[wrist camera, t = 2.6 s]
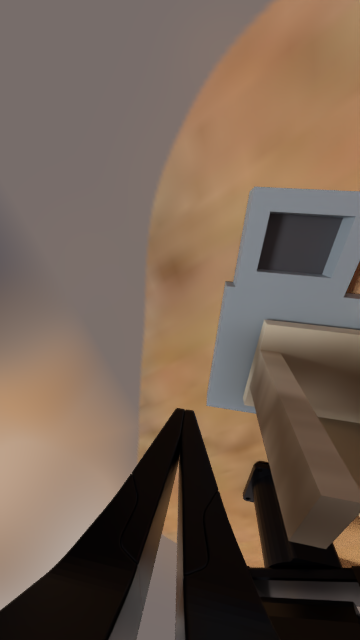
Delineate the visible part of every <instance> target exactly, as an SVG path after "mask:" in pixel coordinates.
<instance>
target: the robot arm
mask: <svg viewBox="0 0 360 640" xmlns="http://www.w3.org/2000/svg"><path fill="white" fill-rule="evenodd" d="M179 457H180V458H179ZM178 462H179V487H178V532H177V576H176V577H177V578H176V623H175V640H360V613H359V611H358V609H357V607H356V606H360V566H352V568H343V567H342V565H341V562H340V559H339V557H338V554H337V552H336V549H335V547H334V544H333V542H332V543H331V544H330V545H329V546H328V547H327V548H326V549H323V548H319V547H314V546H310V545H305V544H301V543H296V542H292V541H288V537H287V533H286V529H285V525H284V521H283V517H282V513H281V509H280V505H279V501H278V497H277V493H276V489H275V485H274V481H273V477H272V473H271V470H270V466H269V465H268V464H263V463H256V464H254V466H253V468H252V471H251V474H250V476H249V479H248V481H247V484H246V487H245V489H244V492H243V499H244V500H246V501H250V502H254V504H255V510H256V517H257V523H258V529H259V535H260V541H261V547H262V553H263V560H264V566H265V568H250V567H249V566H247V565H246V563H245V560H244V558H243V555H242V553H241V551H240V548H239V546H238V543H237V541H236V538H235V536H234V533H233V531H232V528H231V525H230V523H229V520H228V517H227V514H226V511H225V508H224V505H223V502H222V499H221V496H220V493H219V491H218V487H217V484H216V480H215V477H214V474H213V471H212V467H211V464H210V461H209V458H208V455H207V451H206V448H205V445H204V442H203V439H202V435H201V432H200V429H199V426H198V423H197V419H196V416H195V413H194V411H193V410H184V409H180V408H177V409H176V410H175V411H174V412H173V414H172V415H171V417H170V418H169V420H168V421H167V422H166V424H165V425H164V427H163V428H162V430H161V431H160V433H159V434H158V435H157V437H156V438H155V440H154V441H153V443H152V444H151V446H150V447H149V449H148V450H147V451H146V453H145V454H144V456H143V457H142V459H141V460H140V462H139V463H138V464H137V466H136V467H135V469H134V470H133V472H132V474H130V476H129V477H128V479H127V480H126V482H125V483H124V484H123V486H122V487H121V489H120V490H119V491H118V493H117V494H116V495H115V497H114V498H113V499H112V501H111V502H110V503H109V504H108V505H107V507H106V508H105V509H104V510H103V512H102V513H101V514H100V515H99V516H98V517H97V519H96V520H95V521H94V522H93V523H92V525H91V526H90V527H89V528H88V529H87V531H86V532H85V533H84V534H83V535H82V536H81V537H80V539H79V540H78V541H77V542H76V544H75V545H74V546H73V547H72V548H71V549H70V550H69V551H68V553H67V554H66V555H65V556H64V557H63V558H62V559H61V560H60V561H59V562H58V563H57V564H56V565H55V566H54V567H53V568H52V569H51V570H50V571H49V572H48V573H46V574H45V575H44V576H43V577H42V578H40V579H39V580H38V581H37V582H35V583H34V584H33V585H32V586H30V587H29V588H28V589H27V590H25V591H24V592H23V593H22V594H20V595H19V596H18V597H17V598H15V599H14V600H13V601H12V602H10V603H9V604H8V605H6V606H5V607H4V608H3V609H2V610H0V640H136V639H137V634H138V630H139V626H140V622H141V617H142V611H143V609H144V605H145V601H146V596H147V592H148V588H149V584H150V580H151V576H152V572H153V567H154V563H155V559H156V555H157V551H158V547H159V542H160V538H161V534H162V530H163V526H164V521H165V517H166V513H167V509H168V505H169V501H170V496H171V492H172V488H173V484H174V480H175V475H176V471H177V467H178Z"/></svg>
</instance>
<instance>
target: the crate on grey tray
mask: <svg viewBox="0 0 360 640" xmlns="http://www.w3.org/2000/svg"><path fill="white" fill-rule="evenodd" d="M359 261H360V192H358V191H336V190H314V189H292V188H270V187H254V188H253V189H252V190H251V191H250V194H249V199H248V205H247V210H246V216H245V221H244V227H243V232H242V238H241V243H240V248H239V254H238V259H237V265H236V270H235V276H234V281H233V282H225V288H224V294H223V300H222V306H221V312H220V319H219V325H218V331H217V337H216V343H215V349H214V355H213V361H212V367H211V373H210V379H209V385H208V391H207V406H212V407H218V408H224V409H231V410H237V411H243V412H249V413H255V414H256V410H255V407H253V406H247V405H244V401H243V395H244V391H245V388H246V384H247V380H248V377H249V373H250V369H251V366H252V362H253V358H254V355H255V351H256V347H257V344H258V340H259V336H260V333H261V329H262V325H263V322H264V320H273V321H282V322H291V323H300V324H309V325H318V326H327V327H336V328H345V329H354V330H360V294H352V293H346V291H347V288H348V286H349V284H350V282H351V279H352V277H353V275H354V272H355V270H356V268H357V266H358V263H359ZM318 418H319V420H320V422H321V424H322V425H323V427H324V429H325V431H326V432H327V434H328V436H329V437H330V439H331V441H332V443H333V444H334V446H335V448H336V450H337V451H338V453H339V455H340V456H341V458H342V460H343V462H344V463H345V465H346V467H347V468H348V470H349V472H350V474H351V475H352V477H353V479H354V481H355V482H356V484H357V486H358V487H359V489H360V423H355V422H349V421H342V420H336V419H330V418H323V417H318ZM359 517H360V514H359Z"/></svg>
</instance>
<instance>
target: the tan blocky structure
mask: <svg viewBox="0 0 360 640" xmlns="http://www.w3.org/2000/svg"><path fill="white" fill-rule="evenodd" d="M243 401H244V405H247V406H253V407H255V410H256V414H257V418H258V422H259V426H260V430H261V434H262V438H263V442H264V446H265V450H266V454H267V458H268V462H269V466H270V470H271V473H272V477H273V481H274V485H275V489H276V493H277V497H278V501H279V505H280V509H281V513H282V517H283V521H284V525H285V529H286V533H287V537H288V541H292V542H296V543H301V544H305V545H310V546H314V547H319V548H323V549H326V548H327V547H328V546H329V545H330V544H331V543H332V542H333V541H334V540H335V539H336V538H337V537H338V536H339V535H340V534H341V533H342V532H343V531H344V530H345V528H346V527H347V526H348V525H349V524H350V523H351V522H352V521H353V520H354V519H355V518H356V517H357V516H358V515H359V514H360V489H359V487H358V486H357V484H356V482H355V481H354V479H353V477H352V475H351V474H350V472H349V470H348V468H347V467H346V465H345V463H344V462H343V460H342V458H341V456H340V455H339V453H338V451H337V450H336V448H335V446H334V444H333V443H332V441H331V439H330V437H329V436H328V434H327V432H326V431H325V429H324V427H323V425H322V424H321V422H320V420H319V418H318V417H323V418H330V419H336V420H342V421H349V422H355V423H360V330H354V329H345V328H336V327H327V326H318V325H309V324H300V323H291V322H282V321H273V320H264V322H263V325H262V329H261V333H260V336H259V340H258V344H257V347H256V351H255V355H254V358H253V362H252V366H251V369H250V373H249V377H248V380H247V384H246V388H245V391H244V395H243Z"/></svg>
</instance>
